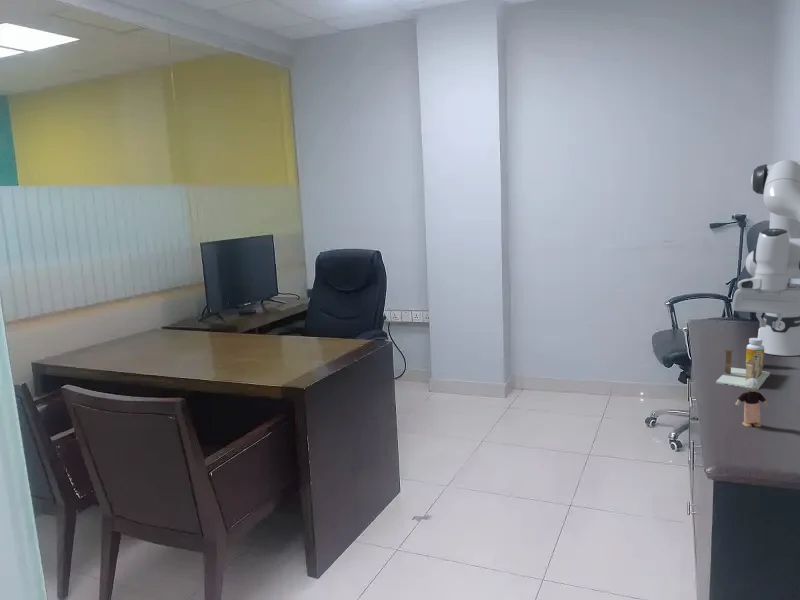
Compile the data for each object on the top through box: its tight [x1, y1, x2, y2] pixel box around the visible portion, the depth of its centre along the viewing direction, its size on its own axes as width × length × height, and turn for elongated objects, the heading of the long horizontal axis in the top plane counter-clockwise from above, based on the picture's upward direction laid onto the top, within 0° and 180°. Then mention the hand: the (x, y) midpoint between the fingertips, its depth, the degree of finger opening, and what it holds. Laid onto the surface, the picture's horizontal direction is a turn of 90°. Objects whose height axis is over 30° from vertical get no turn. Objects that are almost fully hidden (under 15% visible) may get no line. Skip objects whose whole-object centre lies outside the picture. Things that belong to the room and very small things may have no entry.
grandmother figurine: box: [734, 378, 769, 428], centre depth 159 cm, size 8×4×13 cm, turn 92°
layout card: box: [715, 366, 771, 390], centre depth 199 cm, size 20×12×1 cm, turn 140°
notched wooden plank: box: [745, 358, 757, 380], centre depth 193 cm, size 8×2×7 cm, turn 140°
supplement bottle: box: [745, 337, 765, 368], centre depth 212 cm, size 5×5×10 cm
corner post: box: [724, 348, 733, 374], centre depth 203 cm, size 2×2×8 cm
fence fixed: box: [753, 351, 763, 378], centre depth 200 cm, size 10×2×7 cm, turn 140°
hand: (768, 327), depth 187 cm, fingers closed
